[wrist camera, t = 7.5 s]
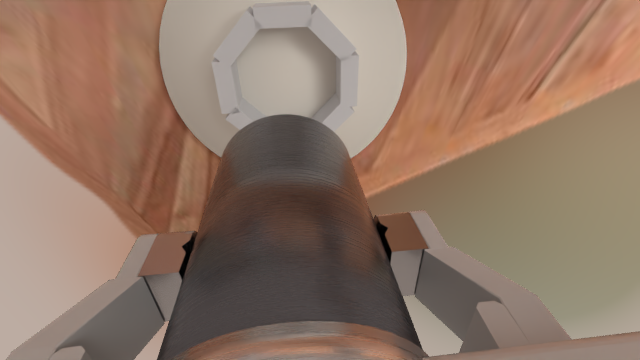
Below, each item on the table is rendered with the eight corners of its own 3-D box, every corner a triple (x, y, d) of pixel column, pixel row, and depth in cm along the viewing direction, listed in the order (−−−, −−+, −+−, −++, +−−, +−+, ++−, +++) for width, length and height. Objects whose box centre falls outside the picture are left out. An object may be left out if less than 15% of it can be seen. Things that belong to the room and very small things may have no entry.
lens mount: (418, -80, 21) (440, -88, 18) (391, 164, 30) (402, 185, 28) (125, -74, 19) (98, -81, 17) (196, 177, 29) (186, 201, 26)
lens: (356, 106, 12) (553, 456, 3) (352, 222, 15) (450, 563, 6) (202, 116, 11) (-26, 543, 3) (230, 233, 14) (157, 612, 6)
